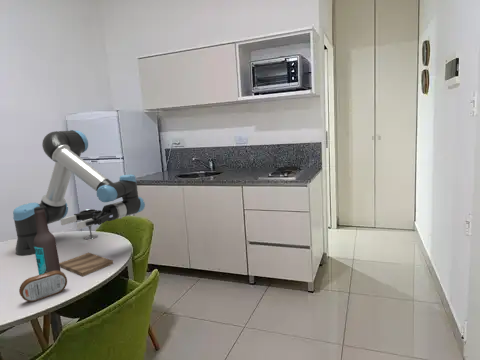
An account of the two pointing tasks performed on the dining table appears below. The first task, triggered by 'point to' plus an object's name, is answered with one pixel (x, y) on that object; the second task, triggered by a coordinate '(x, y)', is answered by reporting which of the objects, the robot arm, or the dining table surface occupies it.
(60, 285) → the tin
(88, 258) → the serving board
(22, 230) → the robot arm
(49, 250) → the beer bottle
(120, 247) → the dining table surface
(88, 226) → the wine glass
